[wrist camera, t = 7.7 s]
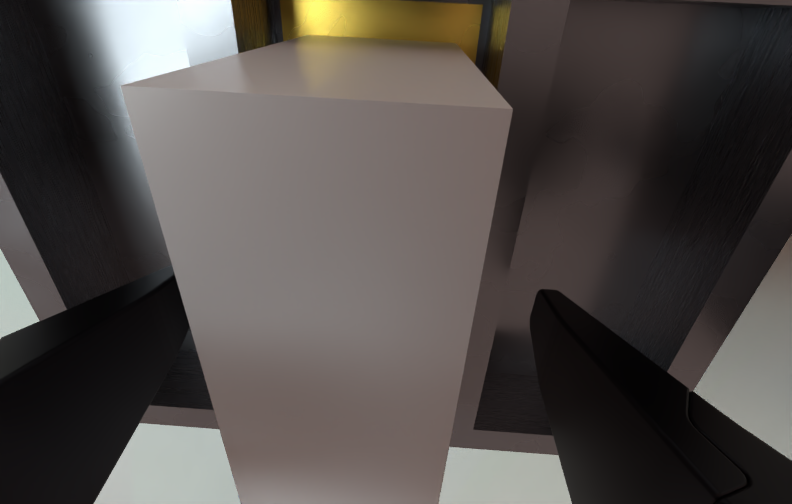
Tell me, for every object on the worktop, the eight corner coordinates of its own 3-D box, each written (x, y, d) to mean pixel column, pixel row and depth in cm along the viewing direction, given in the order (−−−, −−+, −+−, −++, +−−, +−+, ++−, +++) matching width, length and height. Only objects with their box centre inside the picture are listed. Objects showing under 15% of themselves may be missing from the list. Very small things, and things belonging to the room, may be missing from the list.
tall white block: (307, 34, 10) (120, 85, 4) (456, 43, 10) (512, 109, 4) (326, 345, 15) (261, 575, 9) (422, 352, 15) (421, 588, 9)
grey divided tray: (821, -60, 9) (993, -88, 6) (611, 387, 16) (648, 461, 14) (-30, -99, 9) (-210, -139, 7) (145, 353, 17) (93, 419, 14)
